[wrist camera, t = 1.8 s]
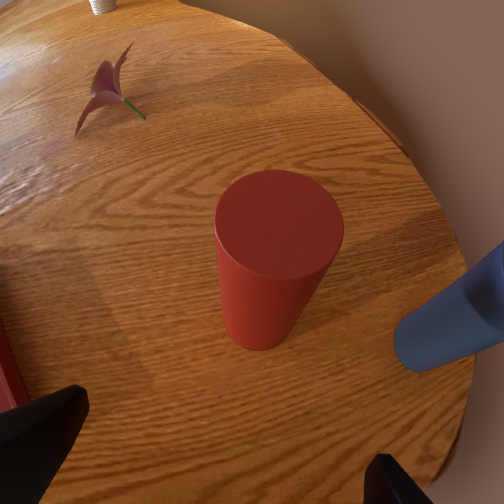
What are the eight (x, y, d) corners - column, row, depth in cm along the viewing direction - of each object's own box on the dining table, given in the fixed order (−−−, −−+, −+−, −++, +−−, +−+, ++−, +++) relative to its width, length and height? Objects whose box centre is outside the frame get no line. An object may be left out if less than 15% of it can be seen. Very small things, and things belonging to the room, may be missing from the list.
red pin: (300, 340, 23) (364, 260, 11) (234, 358, 22) (232, 294, 11) (280, 279, 25) (315, 161, 14) (217, 295, 24) (202, 181, 13)
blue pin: (450, 358, 22) (565, 302, 11) (405, 381, 21) (527, 337, 10) (430, 306, 25) (530, 226, 13) (385, 324, 24) (487, 244, 12)
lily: (146, 87, 39) (103, 43, 31) (195, 84, 32) (144, 22, 24) (92, 155, 37) (40, 113, 30) (127, 168, 30) (59, 112, 23)
